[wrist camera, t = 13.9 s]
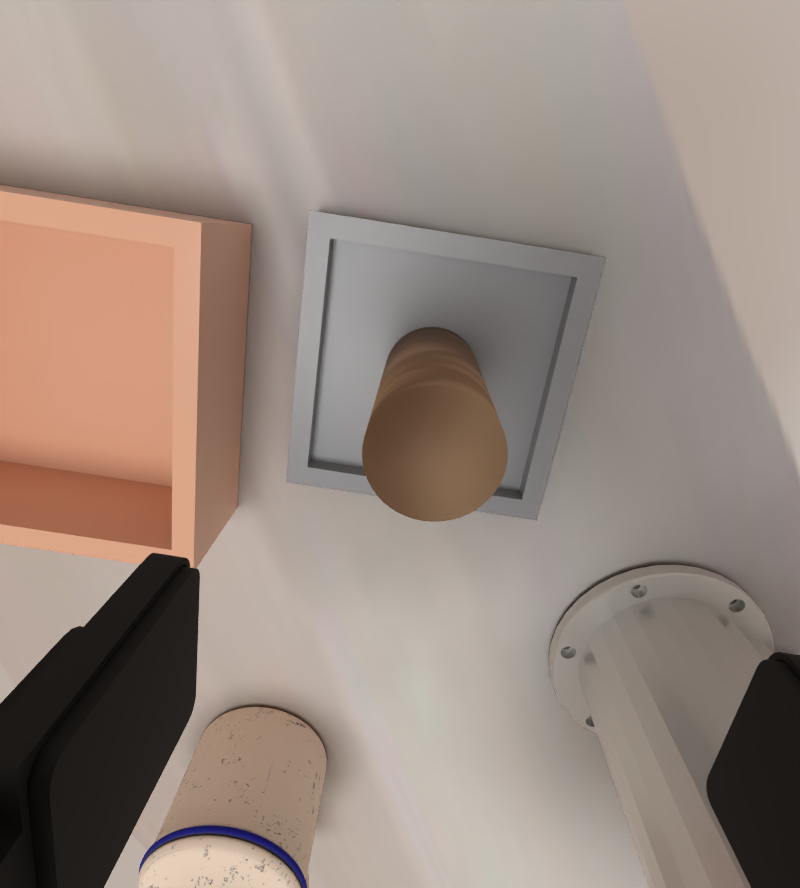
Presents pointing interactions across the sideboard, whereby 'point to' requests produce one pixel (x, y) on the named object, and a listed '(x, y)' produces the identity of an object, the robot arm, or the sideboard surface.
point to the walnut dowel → (433, 430)
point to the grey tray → (445, 306)
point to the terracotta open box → (119, 376)
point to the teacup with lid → (243, 807)
